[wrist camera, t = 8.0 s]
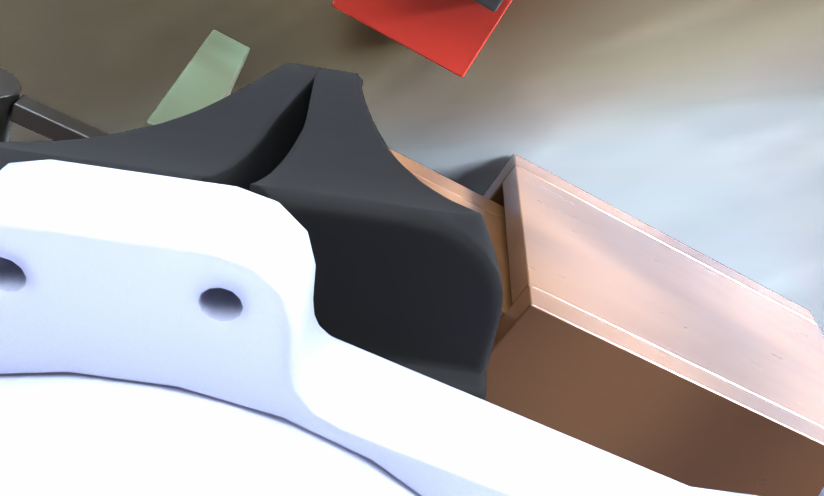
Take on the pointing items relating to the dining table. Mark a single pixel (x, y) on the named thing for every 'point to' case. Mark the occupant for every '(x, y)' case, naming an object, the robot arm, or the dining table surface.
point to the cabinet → (652, 346)
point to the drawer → (208, 84)
